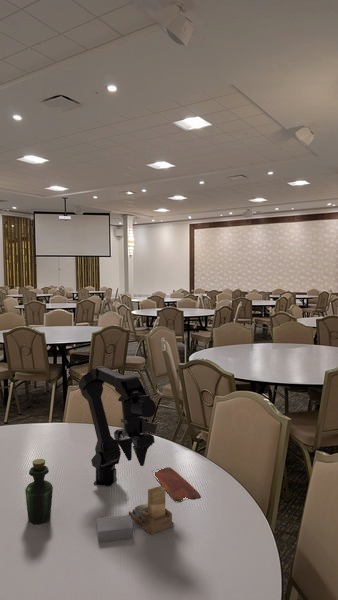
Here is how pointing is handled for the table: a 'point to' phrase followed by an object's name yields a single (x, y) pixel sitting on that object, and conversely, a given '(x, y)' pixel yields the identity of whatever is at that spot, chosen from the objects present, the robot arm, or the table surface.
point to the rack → (151, 519)
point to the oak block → (156, 502)
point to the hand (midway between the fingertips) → (135, 463)
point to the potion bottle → (39, 494)
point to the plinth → (114, 528)
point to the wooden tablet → (176, 485)
